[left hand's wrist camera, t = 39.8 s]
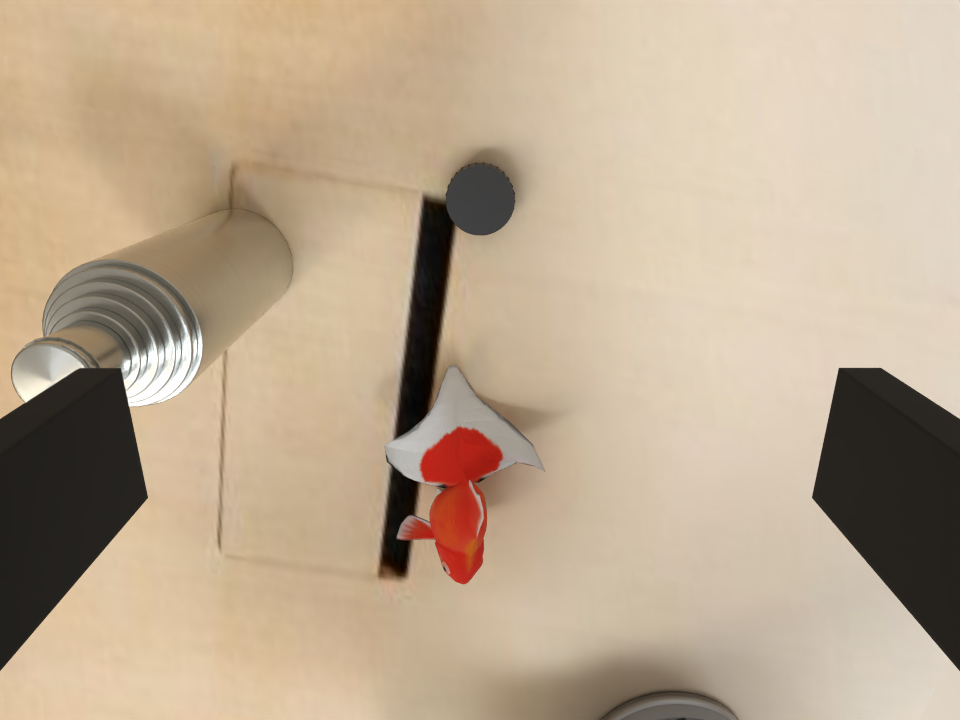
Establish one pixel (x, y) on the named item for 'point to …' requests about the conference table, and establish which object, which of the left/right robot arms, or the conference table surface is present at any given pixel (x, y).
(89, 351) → the bottle
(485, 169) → the cap
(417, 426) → the fish
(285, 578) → the conference table surface
